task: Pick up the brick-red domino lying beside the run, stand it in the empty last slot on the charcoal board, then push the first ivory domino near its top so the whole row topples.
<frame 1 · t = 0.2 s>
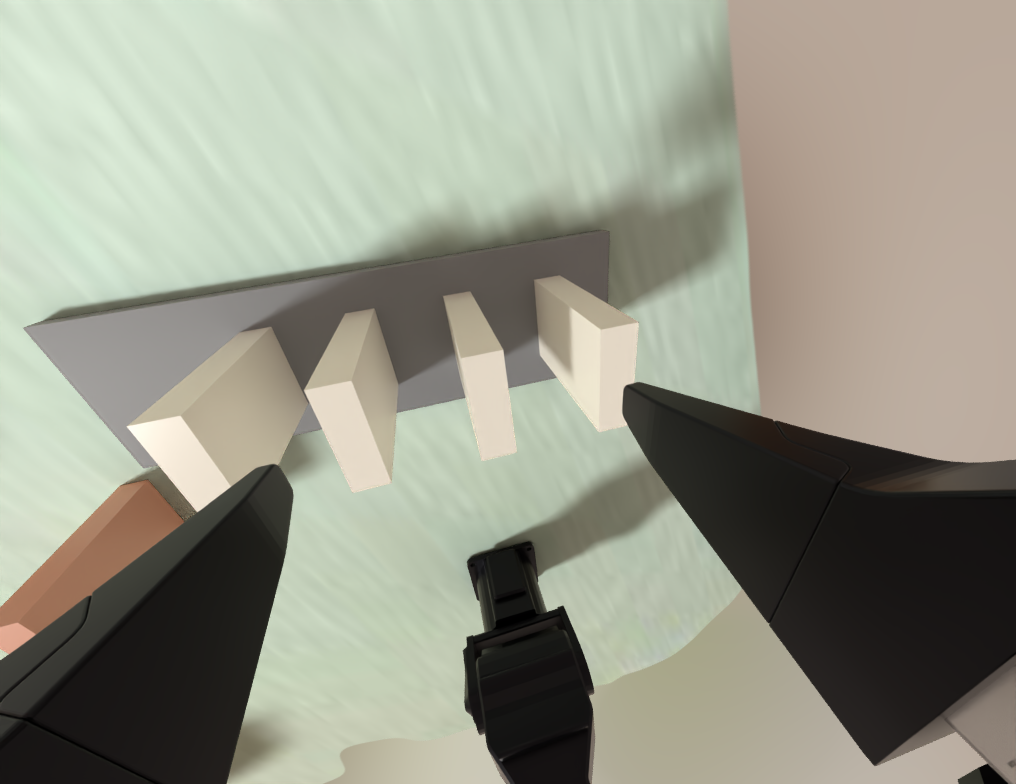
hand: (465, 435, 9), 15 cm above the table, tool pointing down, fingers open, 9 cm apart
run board: (375, 345, 22), on the table
domino 2: (464, 333, 22), point 1 cm above the table, touching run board
brick domino: (157, 509, 24), on the table
domino 4: (276, 370, 21), point 1 cm above the table, touching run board
domino 1: (549, 317, 23), point 1 cm above the table, touching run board
domino 3: (373, 351, 21), point 1 cm above the table, touching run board
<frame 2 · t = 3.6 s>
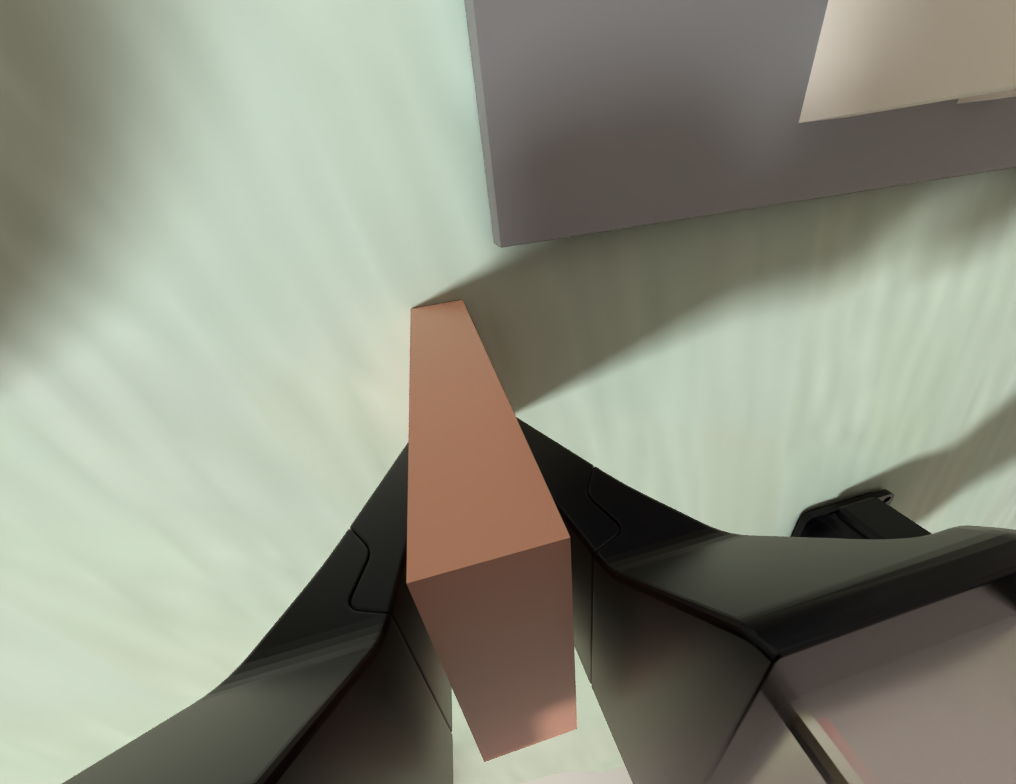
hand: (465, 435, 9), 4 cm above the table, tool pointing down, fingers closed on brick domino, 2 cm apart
brick domino: (452, 375, 12), on the table, touching gripper
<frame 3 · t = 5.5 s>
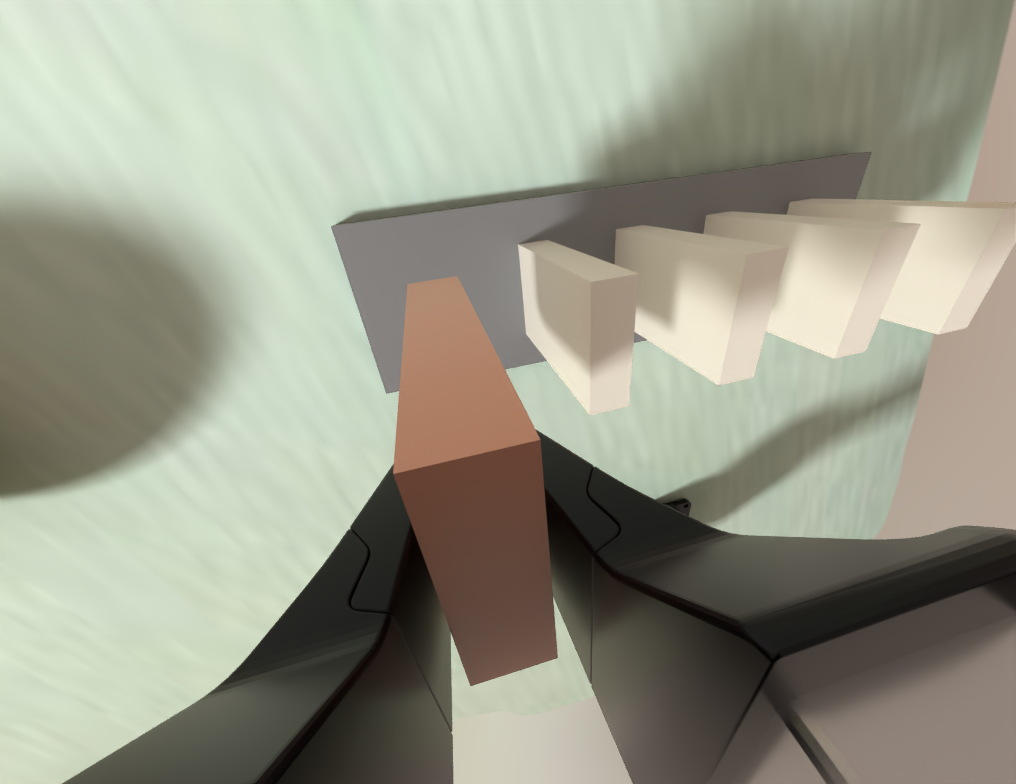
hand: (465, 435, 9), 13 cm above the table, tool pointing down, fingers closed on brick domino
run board: (618, 270, 22), on the table
domino 2: (710, 259, 22), point 1 cm above the table, touching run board
brick domino: (447, 351, 13), point 8 cm above the table, touching gripper
domino 4: (536, 289, 20), point 1 cm above the table, touching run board
domino 1: (789, 245, 22), point 1 cm above the table, touching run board
domino 3: (626, 273, 21), point 1 cm above the table, touching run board
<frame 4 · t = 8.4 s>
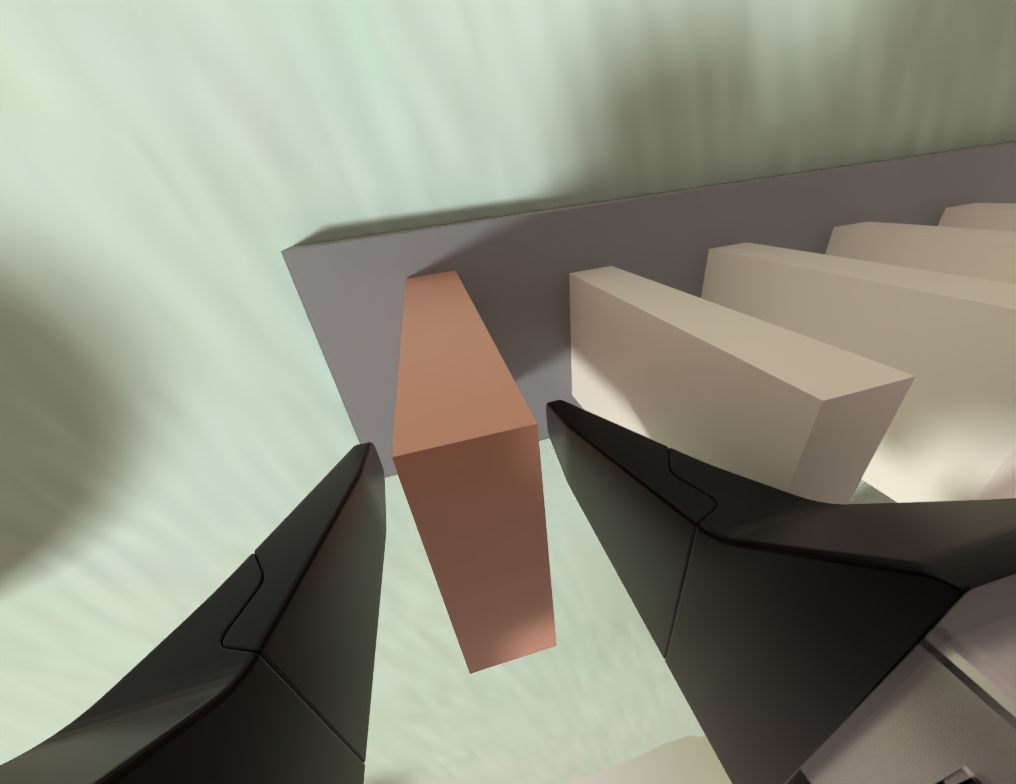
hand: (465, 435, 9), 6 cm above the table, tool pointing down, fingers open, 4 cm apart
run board: (699, 303, 16), on the table
domino 2: (829, 287, 15), point 1 cm above the table, touching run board
brick domino: (446, 345, 13), point 1 cm above the table, touching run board
domino 4: (590, 335, 14), point 1 cm above the table, touching gripper, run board
domino 1: (931, 267, 16), point 1 cm above the table, touching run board
domino 3: (715, 310, 15), point 1 cm above the table, touching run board
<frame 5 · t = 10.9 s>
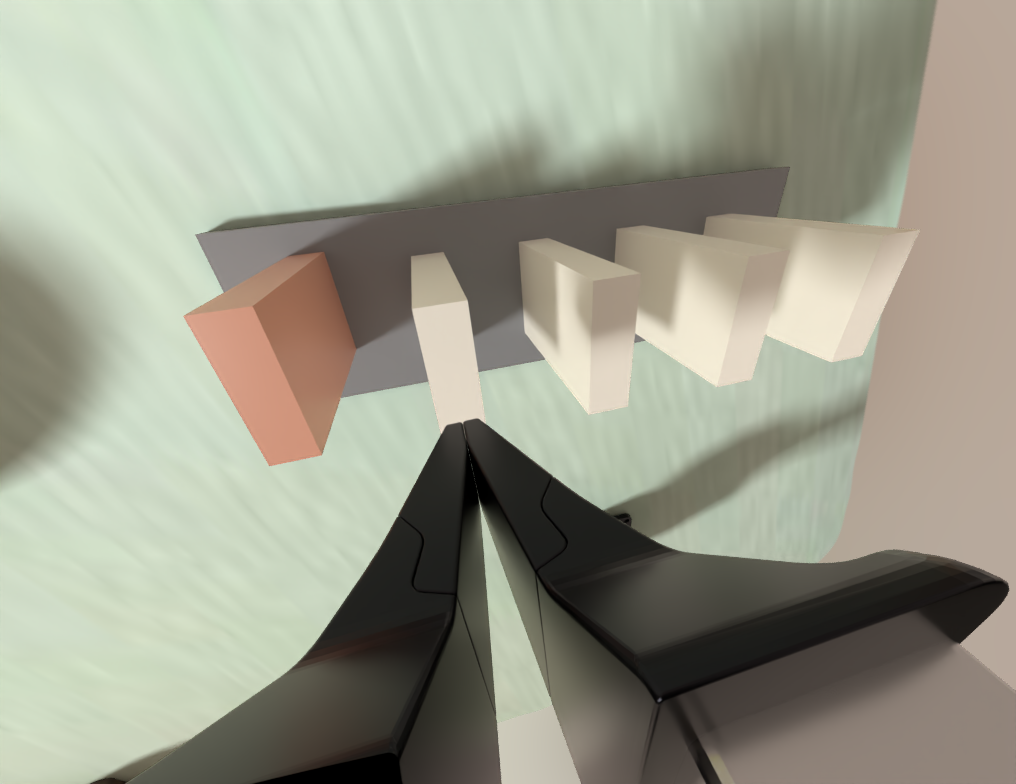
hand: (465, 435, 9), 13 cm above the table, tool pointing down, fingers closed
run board: (530, 283, 21), on the table
domino 2: (626, 273, 21), point 1 cm above the table, touching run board
brick domino: (324, 306, 18), point 1 cm above the table, touching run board
domino 4: (436, 303, 19), point 1 cm above the table, touching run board
domino 1: (710, 260, 22), point 1 cm above the table, touching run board
domino 3: (535, 288, 20), point 1 cm above the table, touching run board
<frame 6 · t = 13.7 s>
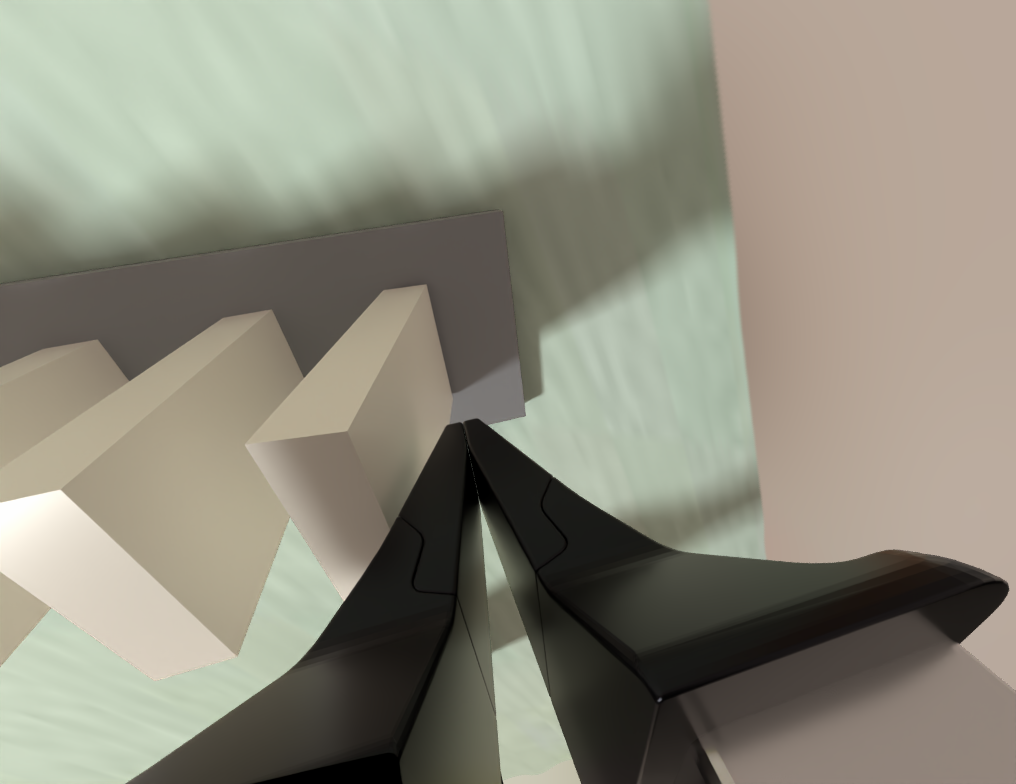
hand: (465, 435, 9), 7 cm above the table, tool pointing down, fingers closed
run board: (138, 393, 14), on the table
domino 2: (279, 375, 14), point 1 cm above the table, touching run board
domino 1: (421, 349, 15), point 1 cm above the table, tilted 10°, touching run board
domino 3: (121, 406, 13), point 1 cm above the table, touching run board
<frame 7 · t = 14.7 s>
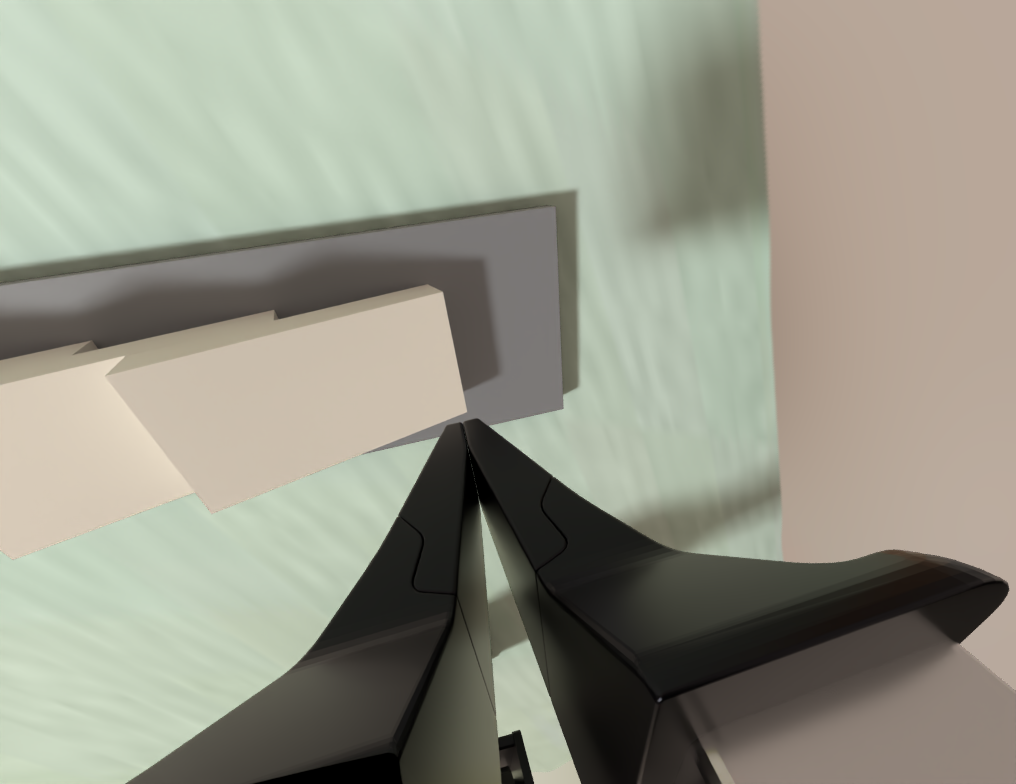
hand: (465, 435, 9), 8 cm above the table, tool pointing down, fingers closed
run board: (194, 382, 14), on the table
domino 2: (303, 379, 13), point 2 cm above the table, tilted 73°, touching domino 1, domino 3, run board
domino 1: (448, 351, 14), point 2 cm above the table, tilted 73°, touching domino 2, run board
domino 3: (132, 412, 13), point 2 cm above the table, tilted 72°, touching domino 2, domino 4, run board
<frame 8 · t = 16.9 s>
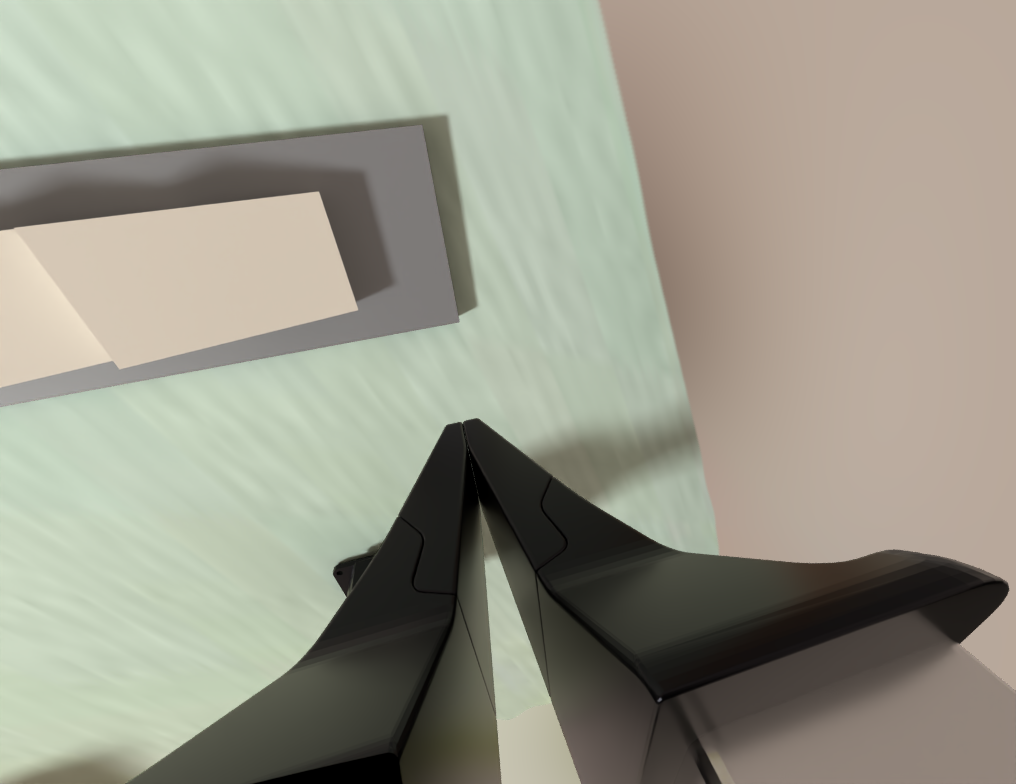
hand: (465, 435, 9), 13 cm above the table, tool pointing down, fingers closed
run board: (120, 281, 17), on the table
domino 2: (209, 273, 16), point 2 cm above the table, tilted 73°, touching domino 1, domino 3, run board
domino 1: (337, 253, 17), point 2 cm above the table, tilted 73°, touching domino 2, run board
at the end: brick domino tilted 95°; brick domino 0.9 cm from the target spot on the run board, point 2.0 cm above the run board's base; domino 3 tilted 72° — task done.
